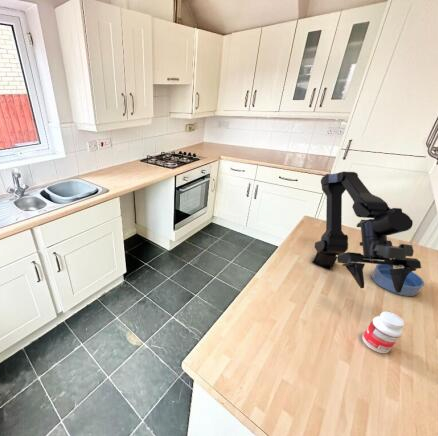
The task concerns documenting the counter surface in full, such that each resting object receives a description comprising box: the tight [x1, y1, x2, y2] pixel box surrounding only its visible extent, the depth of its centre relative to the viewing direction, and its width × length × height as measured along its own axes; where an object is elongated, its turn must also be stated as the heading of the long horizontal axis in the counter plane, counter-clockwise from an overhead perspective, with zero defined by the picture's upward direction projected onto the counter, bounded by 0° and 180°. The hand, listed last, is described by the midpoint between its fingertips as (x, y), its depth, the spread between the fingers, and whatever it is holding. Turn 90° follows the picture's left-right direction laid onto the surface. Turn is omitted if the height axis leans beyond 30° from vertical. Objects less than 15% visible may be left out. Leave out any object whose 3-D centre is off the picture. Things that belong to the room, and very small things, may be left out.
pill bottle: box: [361, 311, 405, 354], centre depth 68 cm, size 6×6×11 cm
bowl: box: [370, 264, 425, 297], centre depth 91 cm, size 13×13×4 cm
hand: (380, 290), depth 71 cm, fingers open, 9 cm apart
